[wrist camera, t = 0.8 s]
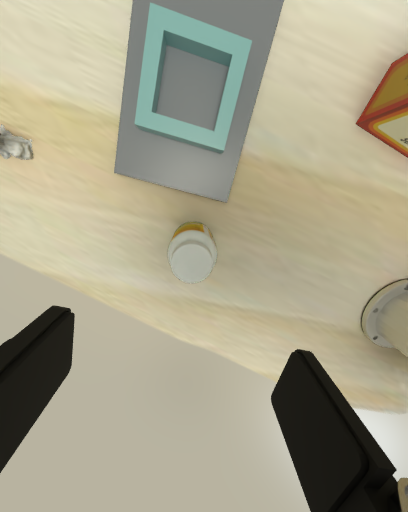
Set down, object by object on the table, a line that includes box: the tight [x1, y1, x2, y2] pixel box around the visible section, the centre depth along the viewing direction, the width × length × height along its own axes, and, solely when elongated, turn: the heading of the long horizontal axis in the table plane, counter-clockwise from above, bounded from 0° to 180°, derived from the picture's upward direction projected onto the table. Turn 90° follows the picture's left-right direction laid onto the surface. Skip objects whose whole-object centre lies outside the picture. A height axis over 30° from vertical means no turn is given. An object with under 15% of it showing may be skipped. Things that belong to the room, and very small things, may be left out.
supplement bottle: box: [167, 222, 217, 283], centre depth 23 cm, size 5×5×10 cm
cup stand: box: [114, 0, 284, 203], centre depth 21 cm, size 14×20×3 cm
